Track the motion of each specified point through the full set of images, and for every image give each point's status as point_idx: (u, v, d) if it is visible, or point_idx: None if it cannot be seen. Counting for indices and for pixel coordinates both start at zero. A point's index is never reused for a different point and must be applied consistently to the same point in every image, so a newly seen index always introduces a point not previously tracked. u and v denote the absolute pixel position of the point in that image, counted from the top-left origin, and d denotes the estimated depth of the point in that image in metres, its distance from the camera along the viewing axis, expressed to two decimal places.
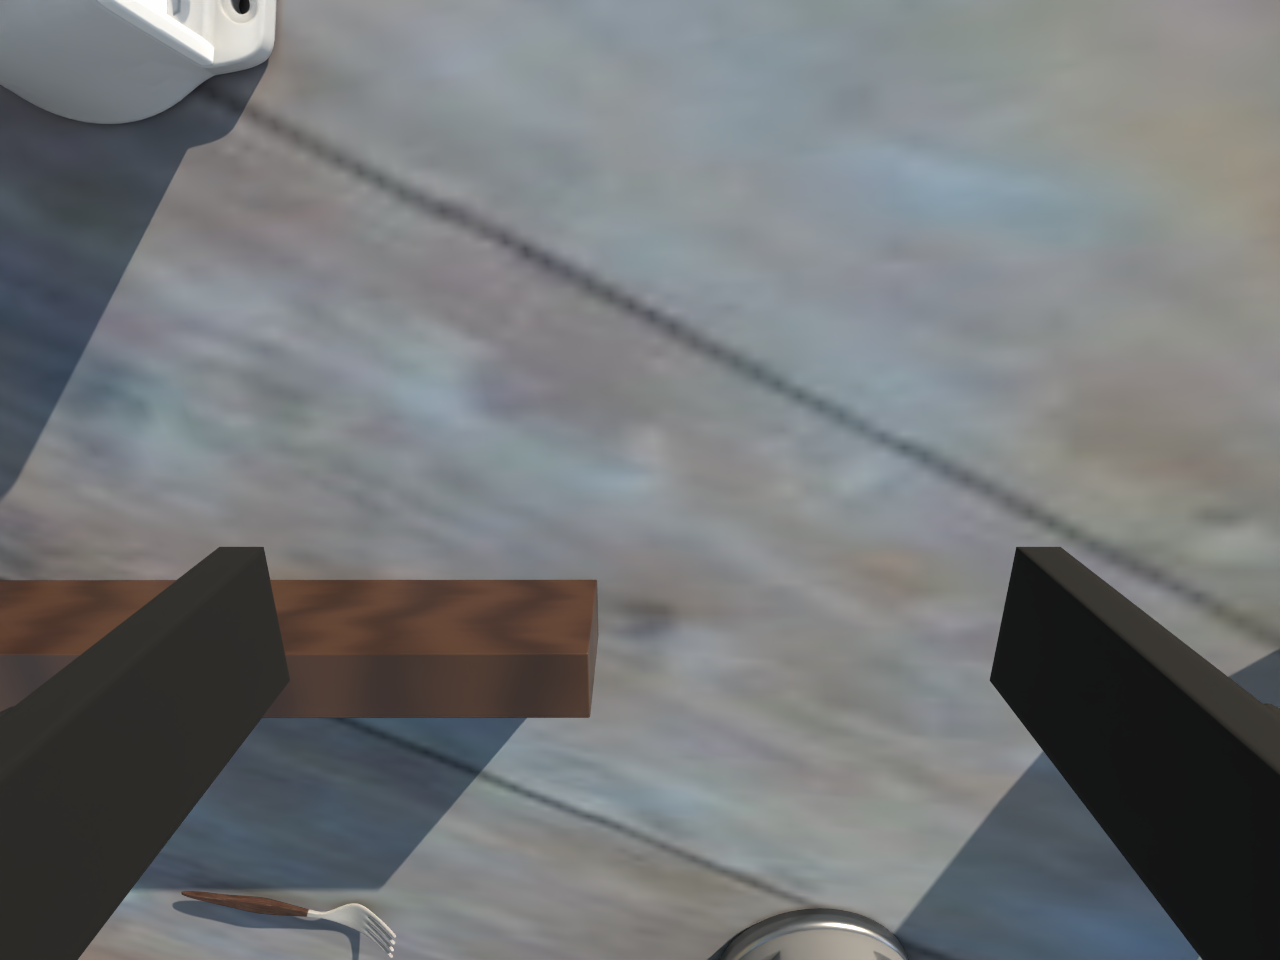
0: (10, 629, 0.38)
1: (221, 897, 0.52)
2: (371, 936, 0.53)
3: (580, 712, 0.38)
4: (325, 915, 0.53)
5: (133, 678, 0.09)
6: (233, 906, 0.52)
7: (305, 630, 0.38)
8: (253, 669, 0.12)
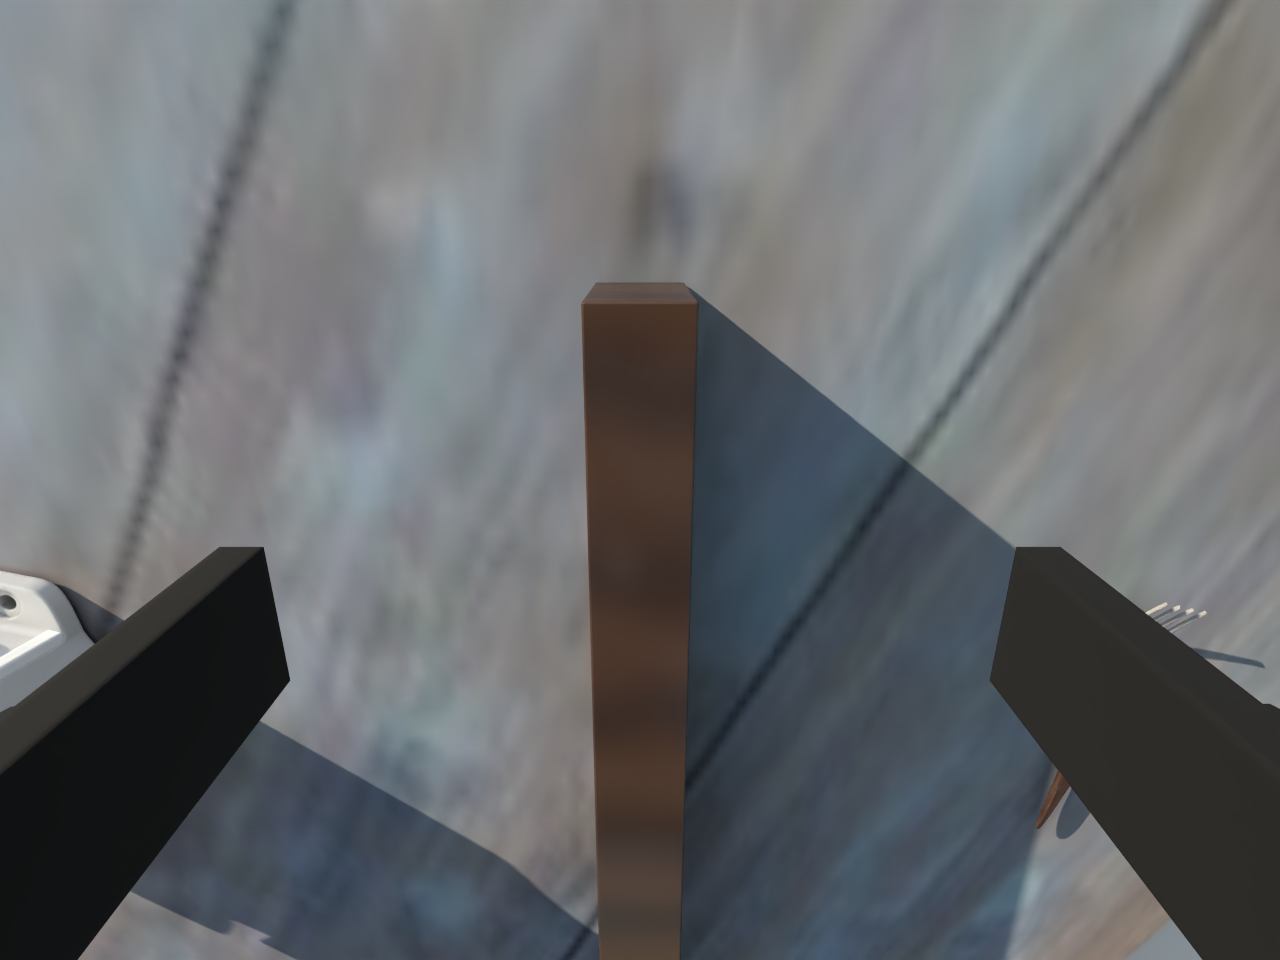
0: None
1: (1053, 790, 0.41)
2: None
3: (687, 317, 0.24)
4: None
5: (133, 678, 0.09)
6: None
7: None
8: (253, 669, 0.12)
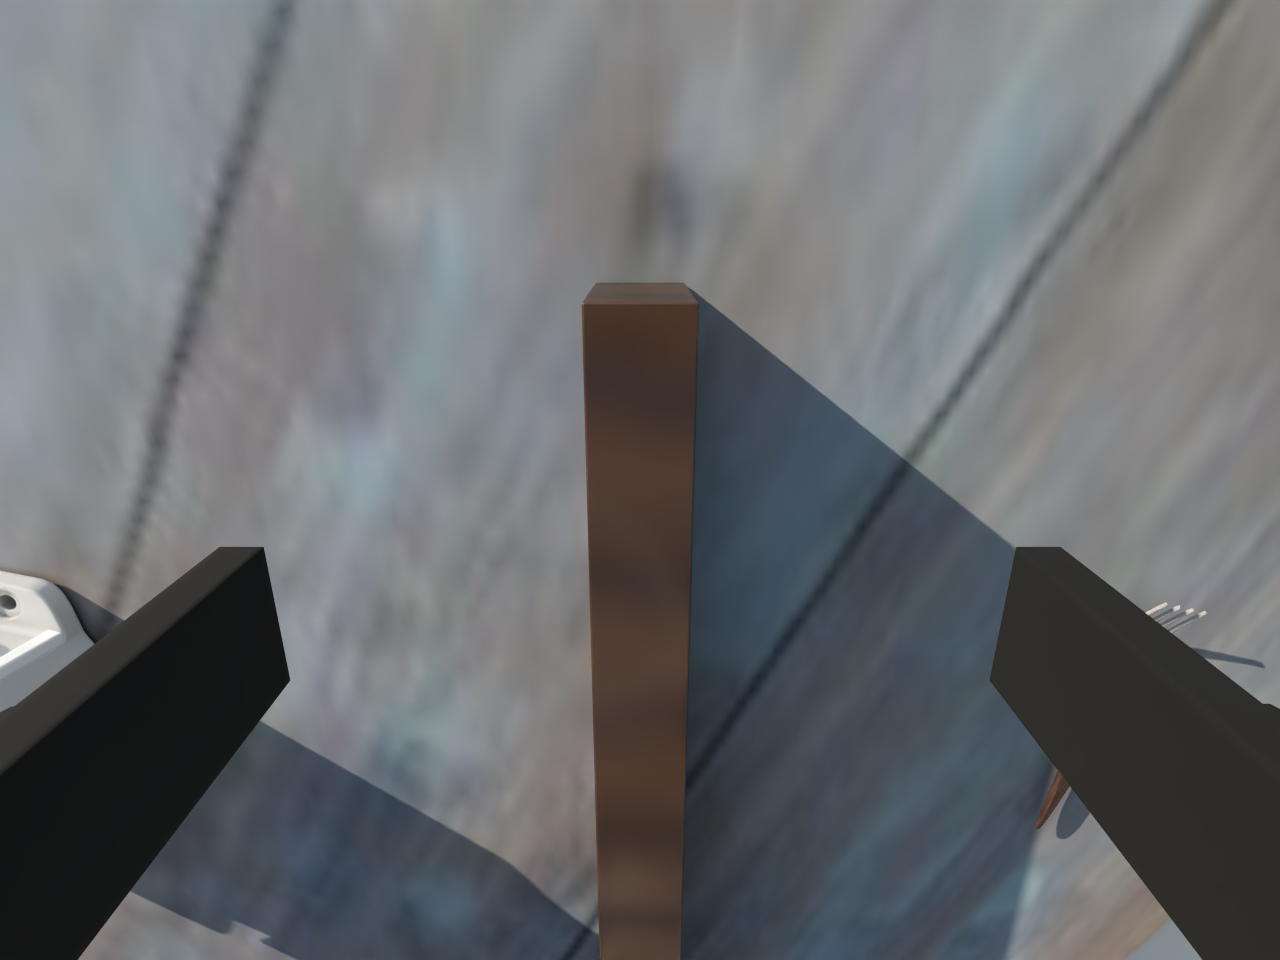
0: None
1: (1053, 790, 0.41)
2: None
3: (687, 317, 0.24)
4: None
5: (133, 678, 0.09)
6: None
7: None
8: (253, 669, 0.12)
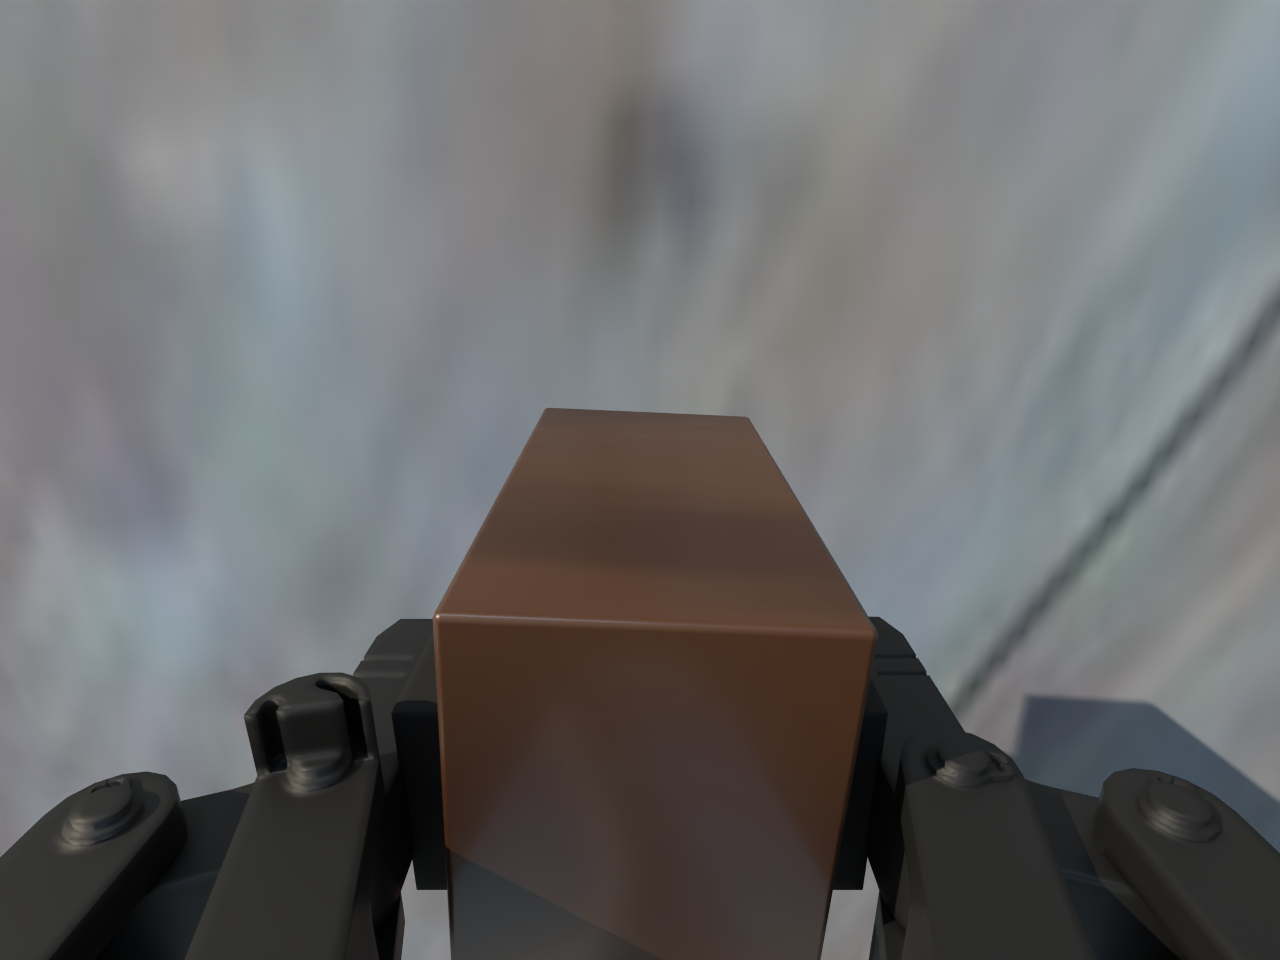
0: None
1: None
2: None
3: (833, 681, 0.06)
4: None
5: None
6: None
7: None
8: None
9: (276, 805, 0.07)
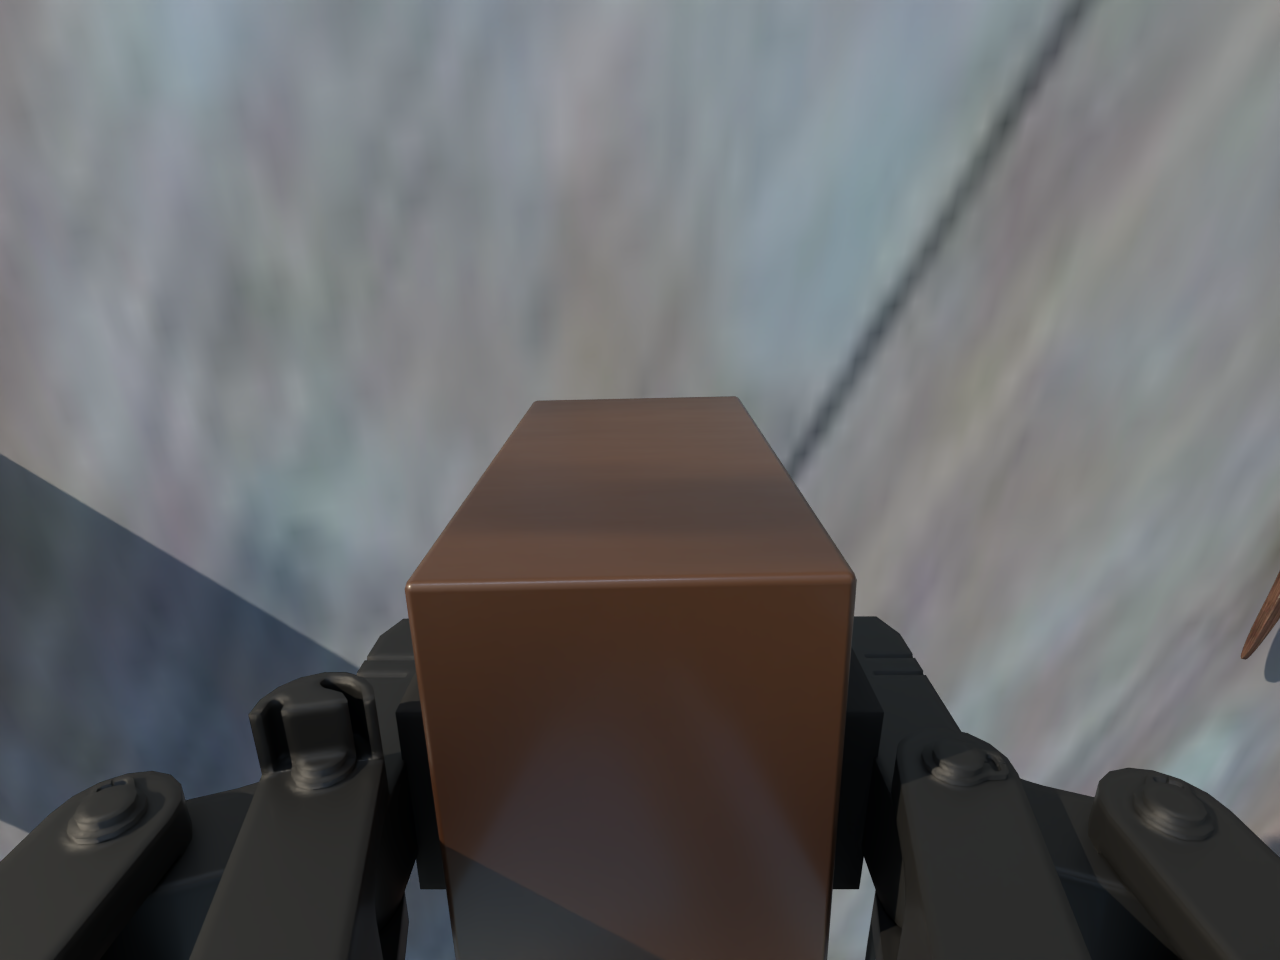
0: None
1: (1276, 594, 0.27)
2: None
3: (814, 629, 0.06)
4: None
5: None
6: None
7: None
8: None
9: (281, 804, 0.07)
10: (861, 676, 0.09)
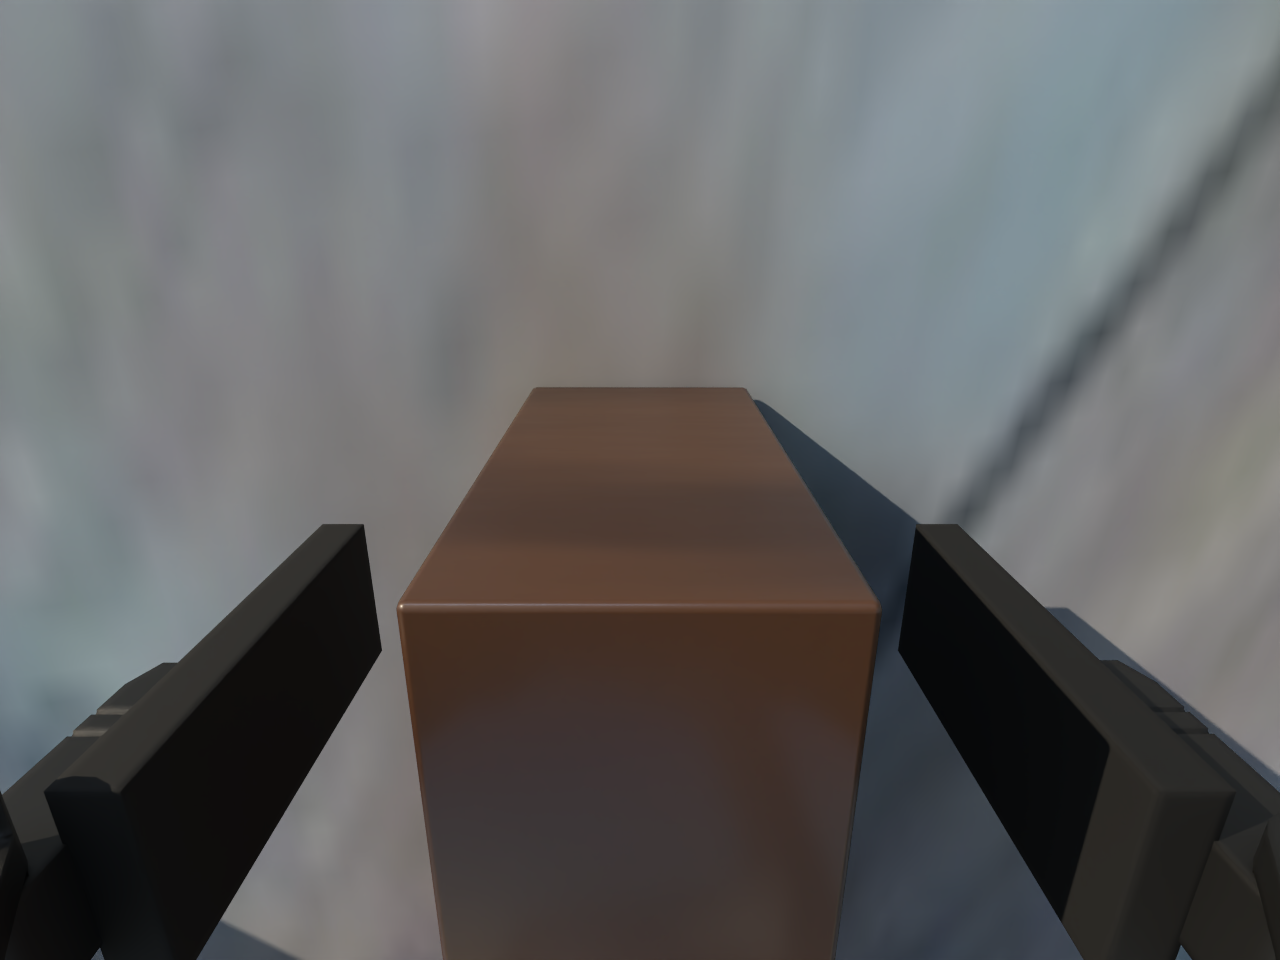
0: None
1: None
2: None
3: (834, 660, 0.06)
4: None
5: (277, 636, 0.10)
6: None
7: None
8: (356, 637, 0.13)
9: None
10: (1181, 743, 0.08)
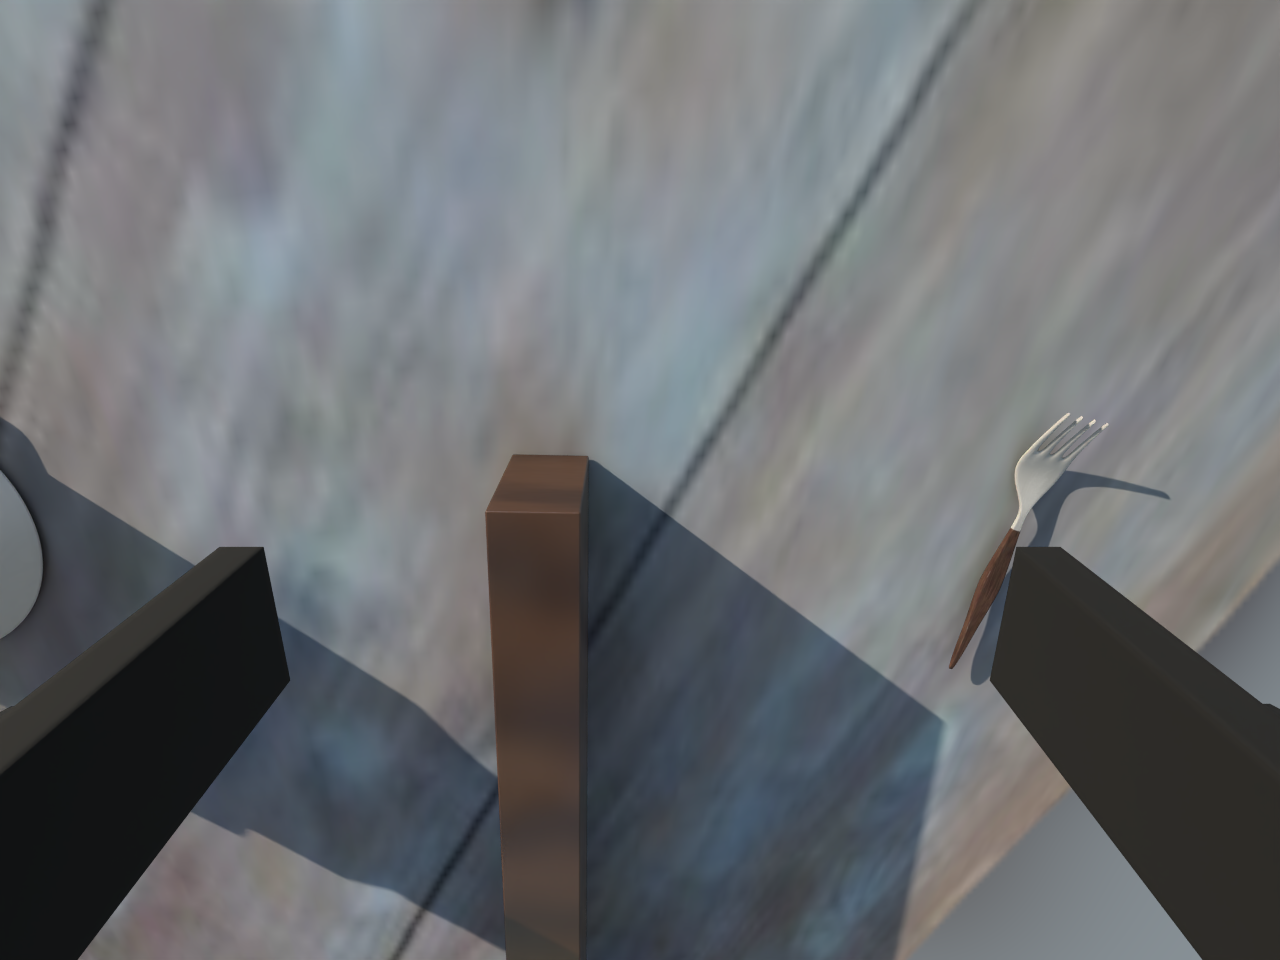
0: None
1: (966, 626, 0.41)
2: (1073, 452, 0.37)
3: (571, 524, 0.30)
4: (1024, 508, 0.38)
5: (134, 678, 0.09)
6: (982, 615, 0.40)
7: None
8: (253, 669, 0.12)
9: None
10: None
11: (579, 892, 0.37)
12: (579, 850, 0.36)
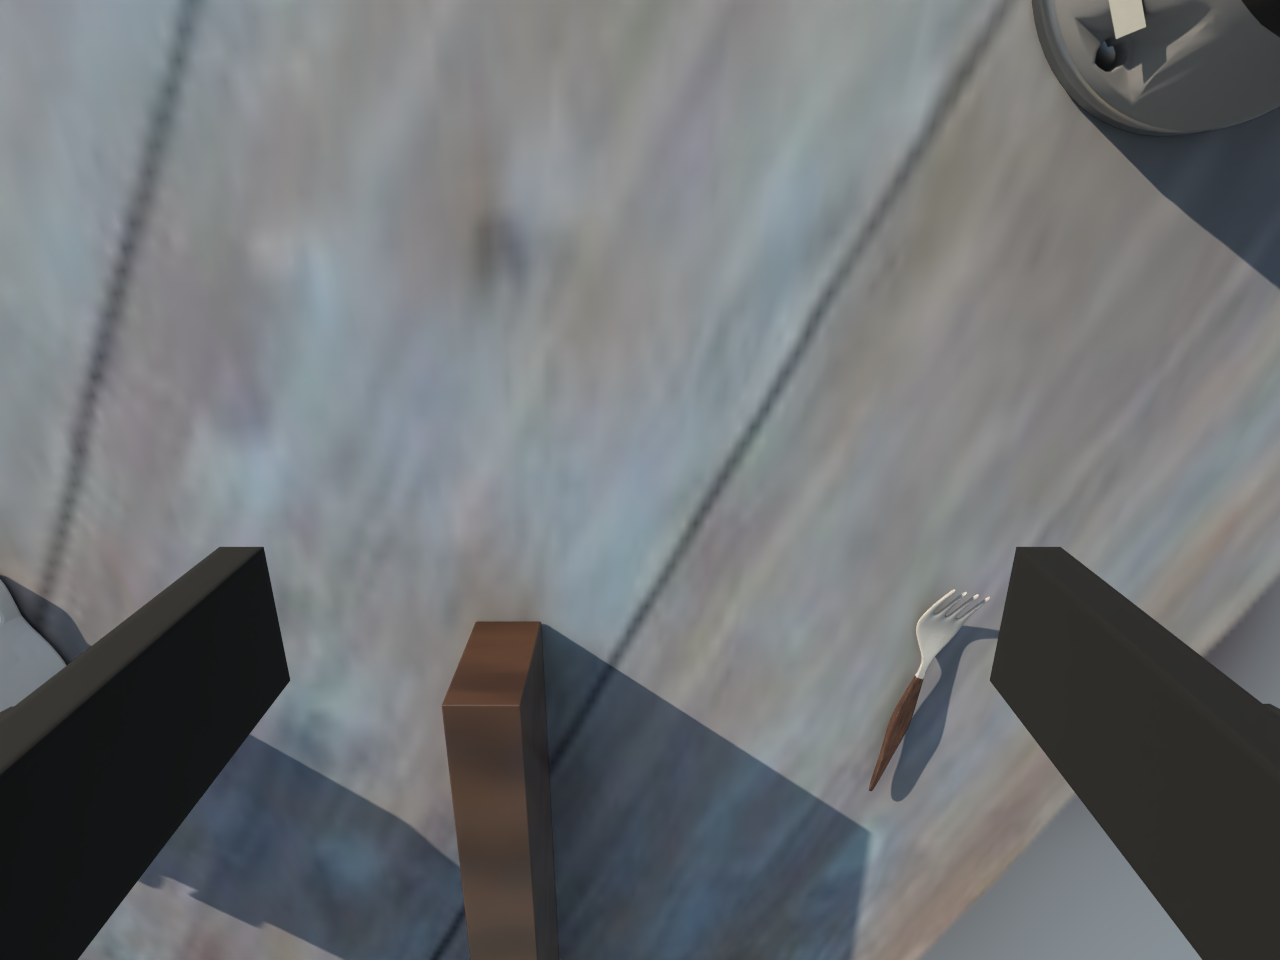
0: None
1: (881, 756, 0.46)
2: (965, 615, 0.42)
3: (513, 714, 0.36)
4: (925, 659, 0.43)
5: (133, 678, 0.09)
6: (894, 747, 0.45)
7: None
8: (253, 669, 0.12)
9: None
10: None
11: None
12: None
